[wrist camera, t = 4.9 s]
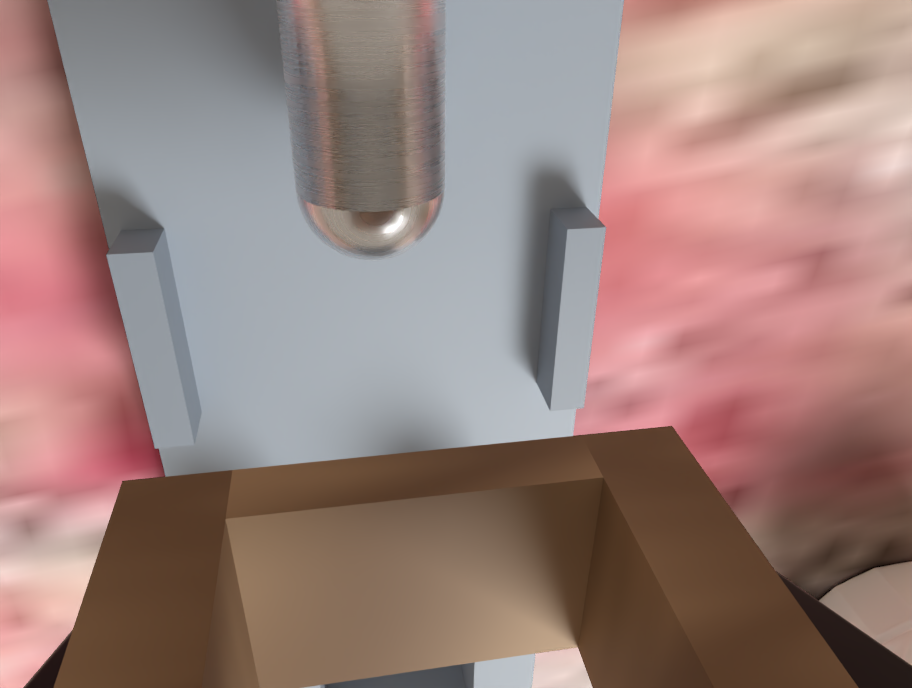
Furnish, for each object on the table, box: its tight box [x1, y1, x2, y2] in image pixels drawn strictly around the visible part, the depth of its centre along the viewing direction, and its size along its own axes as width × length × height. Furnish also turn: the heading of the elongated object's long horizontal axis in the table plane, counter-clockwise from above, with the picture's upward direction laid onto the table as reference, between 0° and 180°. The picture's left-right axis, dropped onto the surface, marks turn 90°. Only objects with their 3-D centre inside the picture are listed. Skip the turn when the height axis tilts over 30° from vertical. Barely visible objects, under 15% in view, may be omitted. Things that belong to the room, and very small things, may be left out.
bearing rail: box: [47, 0, 624, 688], centre depth 13 cm, size 10×23×5 cm, turn 179°
